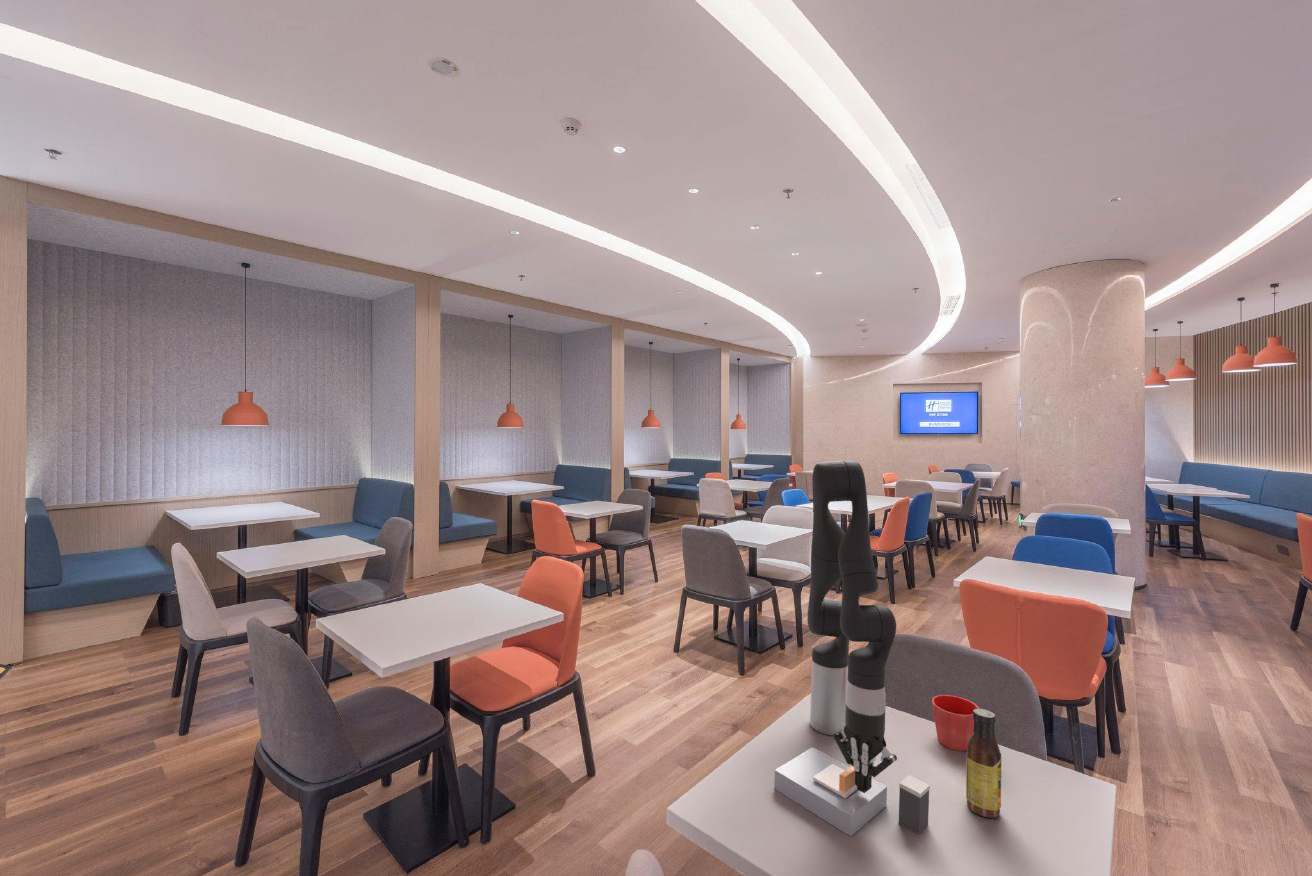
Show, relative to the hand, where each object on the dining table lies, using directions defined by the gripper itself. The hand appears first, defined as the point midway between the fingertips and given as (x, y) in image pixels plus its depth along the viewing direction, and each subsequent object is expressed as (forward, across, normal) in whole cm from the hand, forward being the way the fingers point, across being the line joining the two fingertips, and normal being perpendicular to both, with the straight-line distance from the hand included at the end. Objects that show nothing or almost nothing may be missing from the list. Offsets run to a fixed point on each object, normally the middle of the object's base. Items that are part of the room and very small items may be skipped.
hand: (862, 789), depth 111 cm
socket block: (+5, +7, 0) cm, 9 cm away
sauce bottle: (+6, -15, -22) cm, 27 cm away
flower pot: (+6, -1, -44) cm, 44 cm away
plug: (+5, -8, -6) cm, 11 cm away
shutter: (+1, +5, 0) cm, 5 cm away
